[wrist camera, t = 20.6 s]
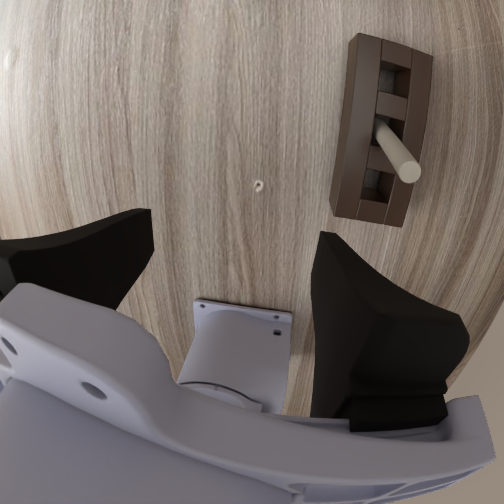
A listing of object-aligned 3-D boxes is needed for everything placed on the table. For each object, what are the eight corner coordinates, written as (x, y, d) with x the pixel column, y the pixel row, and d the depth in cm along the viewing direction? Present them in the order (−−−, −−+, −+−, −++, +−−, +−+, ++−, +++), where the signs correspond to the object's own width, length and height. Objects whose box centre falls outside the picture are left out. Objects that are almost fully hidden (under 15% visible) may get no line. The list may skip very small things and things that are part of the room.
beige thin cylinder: (385, 118, 16) (424, 164, 11) (381, 133, 17) (416, 186, 12) (369, 114, 16) (403, 158, 11) (365, 129, 17) (396, 180, 12)
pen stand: (415, 60, 14) (433, 56, 11) (389, 211, 20) (402, 228, 17) (348, 41, 14) (358, 32, 11) (328, 200, 20) (333, 216, 18)
